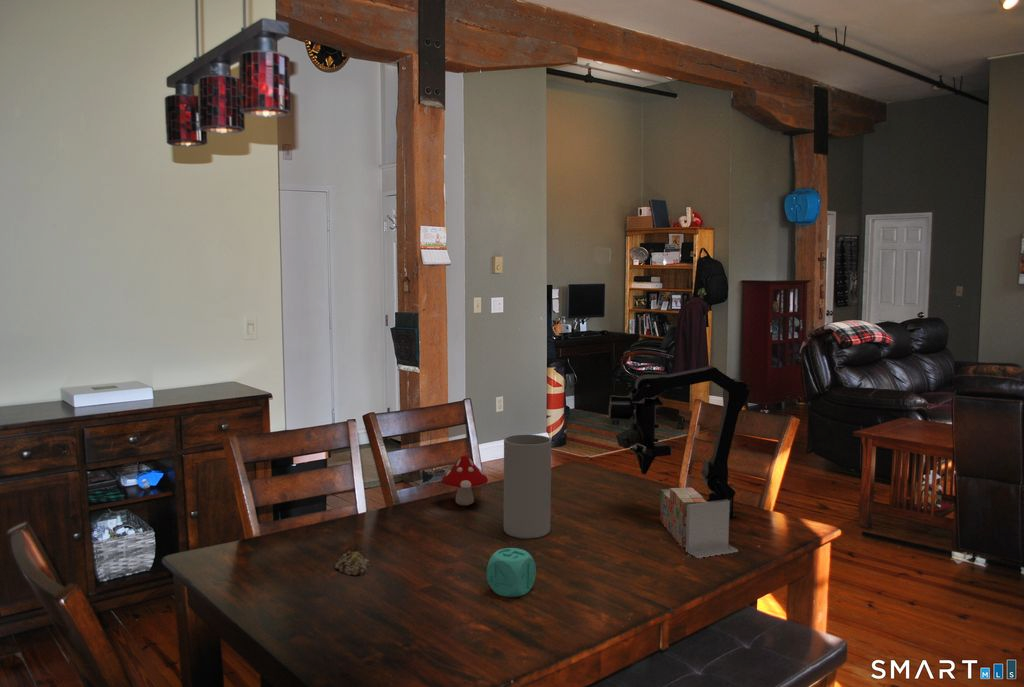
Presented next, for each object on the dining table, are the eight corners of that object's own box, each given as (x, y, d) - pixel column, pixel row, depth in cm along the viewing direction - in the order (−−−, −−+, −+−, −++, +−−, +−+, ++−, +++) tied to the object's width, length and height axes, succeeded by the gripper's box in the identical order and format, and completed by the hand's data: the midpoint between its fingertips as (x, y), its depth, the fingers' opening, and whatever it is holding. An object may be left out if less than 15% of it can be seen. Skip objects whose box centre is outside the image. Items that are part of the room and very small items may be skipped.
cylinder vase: (496, 535, 201) (496, 442, 198) (513, 521, 212) (514, 433, 210) (540, 542, 196) (541, 446, 194) (556, 527, 208) (557, 436, 205)
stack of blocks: (659, 521, 214) (660, 478, 212) (681, 520, 214) (682, 477, 213) (682, 549, 192) (683, 501, 191) (706, 548, 193) (707, 500, 192)
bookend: (725, 545, 195) (726, 499, 194) (737, 551, 190) (739, 505, 189) (685, 551, 190) (687, 504, 189) (697, 558, 186) (699, 510, 184)
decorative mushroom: (486, 512, 220) (486, 461, 218) (438, 512, 220) (438, 461, 219) (488, 498, 234) (489, 450, 232) (443, 497, 234) (443, 449, 233)
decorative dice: (517, 600, 162) (517, 564, 161) (485, 592, 166) (486, 556, 165) (536, 587, 168) (536, 552, 168) (505, 579, 173) (505, 545, 172)
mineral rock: (328, 555, 181) (360, 541, 184) (333, 571, 182) (364, 556, 185) (340, 572, 172) (374, 557, 175) (346, 589, 173) (379, 573, 176)
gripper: (604, 415, 222) (603, 468, 224) (638, 428, 205) (636, 485, 206) (637, 413, 226) (635, 465, 228) (673, 425, 209) (671, 481, 211)
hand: (643, 473), depth 218 cm, fingers closed
